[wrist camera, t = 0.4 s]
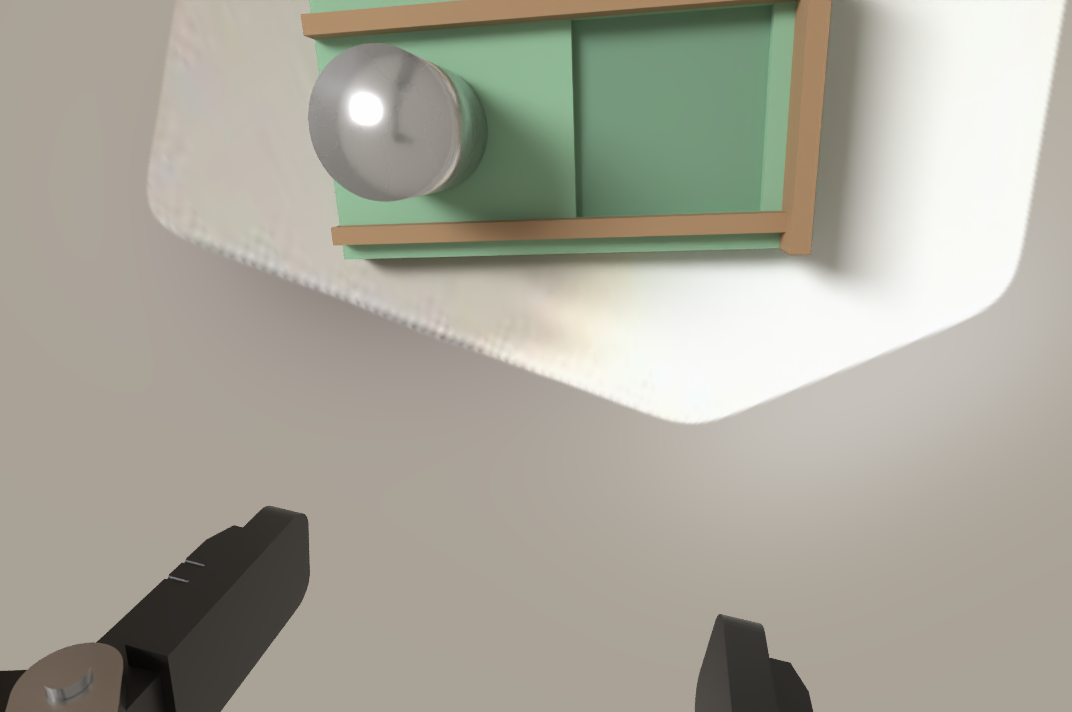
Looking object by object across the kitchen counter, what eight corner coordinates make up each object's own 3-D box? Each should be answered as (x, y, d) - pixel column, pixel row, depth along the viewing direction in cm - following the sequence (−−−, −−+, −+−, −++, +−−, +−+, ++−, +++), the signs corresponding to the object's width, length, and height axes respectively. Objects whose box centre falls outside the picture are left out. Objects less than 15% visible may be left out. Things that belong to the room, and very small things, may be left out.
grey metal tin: (365, 69, 35) (297, 48, 27) (483, 61, 34) (444, 37, 27) (380, 194, 37) (320, 204, 29) (491, 189, 36) (457, 198, 28)
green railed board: (325, 6, 36) (285, -13, 32) (810, -37, 32) (837, -65, 28) (357, 254, 40) (326, 266, 36) (789, 242, 36) (810, 254, 32)
